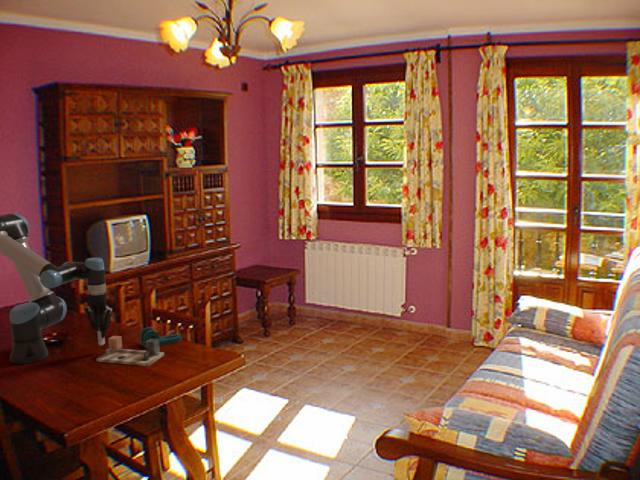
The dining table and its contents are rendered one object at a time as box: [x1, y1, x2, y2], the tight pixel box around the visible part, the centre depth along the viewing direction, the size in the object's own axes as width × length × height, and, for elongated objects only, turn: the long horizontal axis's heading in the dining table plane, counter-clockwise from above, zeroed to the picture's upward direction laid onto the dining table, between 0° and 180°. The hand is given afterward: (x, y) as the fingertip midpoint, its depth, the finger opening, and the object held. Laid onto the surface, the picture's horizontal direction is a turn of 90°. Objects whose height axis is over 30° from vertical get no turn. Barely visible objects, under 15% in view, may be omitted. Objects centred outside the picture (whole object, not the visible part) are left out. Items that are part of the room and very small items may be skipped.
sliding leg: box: [104, 335, 123, 356], centre depth 263 cm, size 4×9×6 cm, turn 165°
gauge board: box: [96, 339, 165, 367], centre depth 259 cm, size 25×13×8 cm, turn 75°
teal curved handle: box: [140, 326, 183, 349], centre depth 278 cm, size 18×7×8 cm, turn 121°
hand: (101, 344), depth 267 cm, fingers closed
